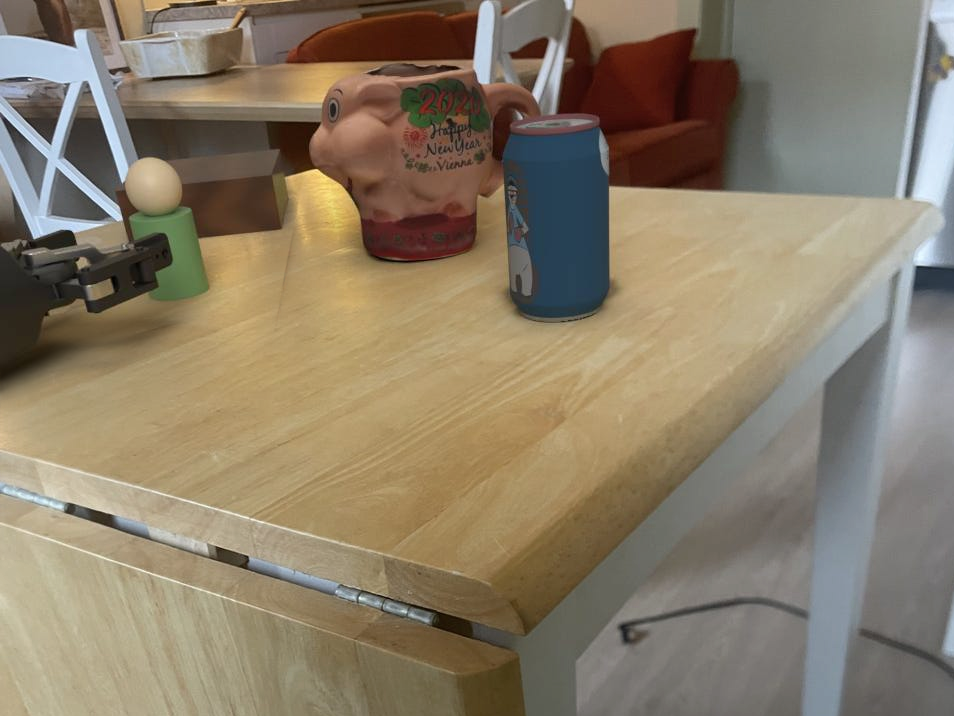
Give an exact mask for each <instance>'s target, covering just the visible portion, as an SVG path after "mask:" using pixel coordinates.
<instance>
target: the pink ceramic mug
mask: <svg viewBox="0 0 954 716" xmlns="http://www.w3.org/2000/svg"><path fill="white" fill-rule="evenodd" d="M506 109H507V110H513V111H516V112H517V113H518V114H519V115H520V116H521V117H522V119H525V118H530V117H537V116H542V111H541V108H540V106H539V104H538V101H537V99H536V97H535V96H534V95H533V94H532V92H530V91H529V90H527V89H526V88H525V87H523V86H521V85H519V84H516V83H512V82H503V81H502V82H494V83H487V84H486V83H480V82H479V79H478V74H477V72H476V70H475V68H473V67H469V66H465V65H463V64H456V65H455V64H454V65H448V64H414V63H407V62H402V61H401V62H400V61H399V62H395V63H390V64H386V65H383V66H380V67H377V68H374V69H369V70H366V71H363V72H358V73H352V74H348V75H346V76H343V77H341V78H340V79H338V80H337V81H336V82H334V83H333V84H332V85H331V86H330V87H329V88H328V90H327V92H326V95H325V96H324V98H323V101H322V104H321V121H320V124H319V127H318V128H317V130H316V131H315V132H314V133H313V135H312V137H311V138H310V140H309V145H308V151H309V158H310V160H311V162H312V164H313V166H314V167H315V168H316V169H317V170H318V171H319V172H320V173H321V174H322V175H324V176H326V177H327V178H329V179H330V180H333V181H334V182H336V183H338V184H339V185H340V186H341V187H343V189H344V190H345V192H346V193H347V194H348V195H349V197H350V199H351V200H352V203H354V205H355V207H356V209H357V211H358V215H359V220H360V227H361V239H362V244H363V248H364V249H365V251H366V252H368V253H369V254H371V255H373V256H375V257H378V258H381V259H386V260H391V261H392V260H393V261H423V260H424V261H426V260H432V259H440V258H446V257H450V256H456V255H460V254H462V253H465V252H467V251H469V250H470V249H471V248H472V247H473V246H474V244H475V241H476V238H477V231H478V230H477V229H478V227H477V226H478V225H477V222H478V221H477V219H478V197H479V196H480V197H483V198H486V199H489V198H490V197H492V196H493V195H494V194H495V193H496V192H497V191H498V190H499V189H500V188H501V187H502V186H504V175H503V160H502V161H501V160H498V159H495V158H494V157H493V148H494V138H493V137H494V136H493V130H492V122H493V120H494V118H495V117H496V115H497V114H499V112H500V111H503V110H506Z"/></svg>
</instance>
